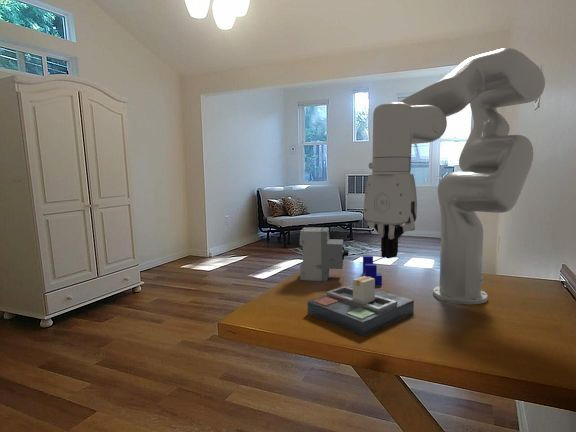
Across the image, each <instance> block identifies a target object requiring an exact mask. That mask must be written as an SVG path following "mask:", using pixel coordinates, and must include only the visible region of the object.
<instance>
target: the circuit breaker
mask: <svg viewBox="0 0 576 432" xmlns="http://www.w3.org/2000/svg"><path fill="white" fill-rule="evenodd" d="M299 234H300V235H299V246H300V247H302V261H301V263H300V265H299V267H300V268H299V271H300V272H299V273H300V279H299V280H300V281H317V282H321V281H323V282H327V281H328V279H329V276H330V272H331V271H330V270H342V269H343V266H344V260H345V257H349V255H350V254H349V253H350V252H349V249H348V250H346V249H345V246H344V239H332V238H331V239H330V228H329V227H313V226H311V227H309V226H307V227H303V228H302V229H301V230H300V232H299Z"/></svg>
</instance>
